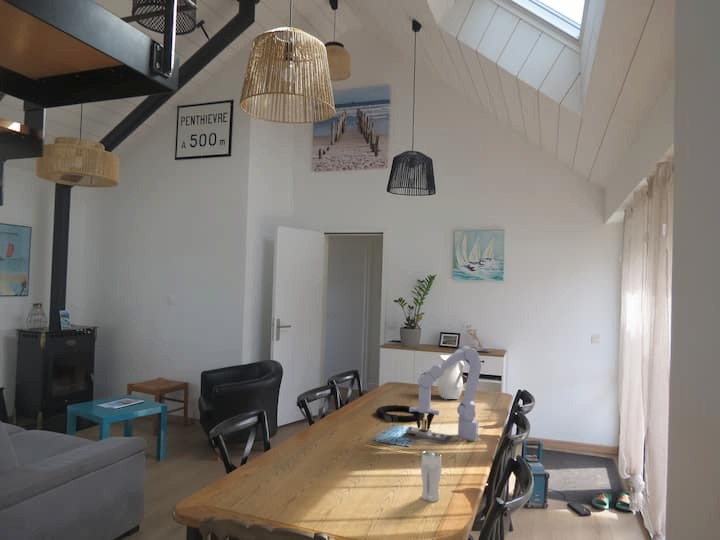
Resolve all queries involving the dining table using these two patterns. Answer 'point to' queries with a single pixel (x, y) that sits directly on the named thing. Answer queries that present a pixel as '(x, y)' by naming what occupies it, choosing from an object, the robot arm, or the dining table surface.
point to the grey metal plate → (426, 434)
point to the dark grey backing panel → (413, 436)
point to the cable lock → (396, 418)
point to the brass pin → (423, 425)
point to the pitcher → (451, 380)
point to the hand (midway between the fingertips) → (423, 428)
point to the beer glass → (430, 475)
